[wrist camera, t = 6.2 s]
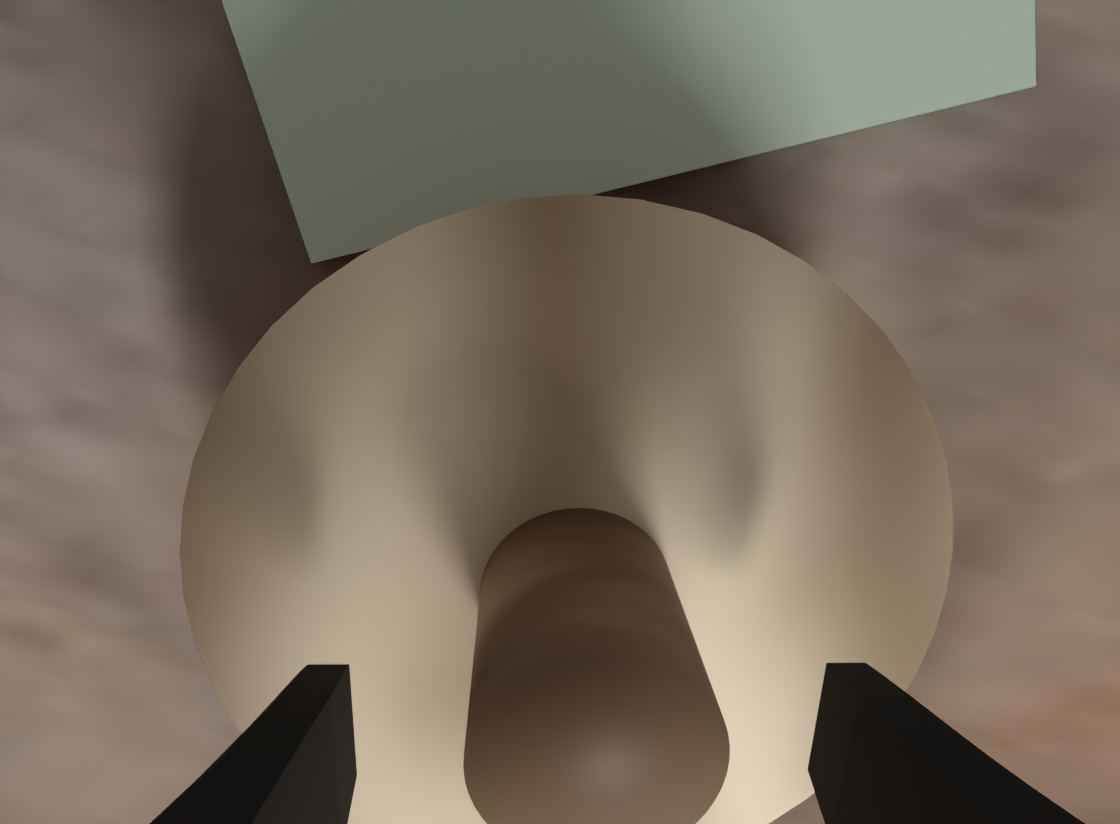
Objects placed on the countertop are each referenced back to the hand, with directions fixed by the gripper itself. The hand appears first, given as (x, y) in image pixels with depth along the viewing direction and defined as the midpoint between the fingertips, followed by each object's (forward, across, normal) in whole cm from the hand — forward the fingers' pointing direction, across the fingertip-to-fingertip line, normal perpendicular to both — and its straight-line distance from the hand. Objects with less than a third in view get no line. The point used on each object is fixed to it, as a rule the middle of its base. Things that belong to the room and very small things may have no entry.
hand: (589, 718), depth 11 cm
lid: (+3, 0, 0) cm, 3 cm away
